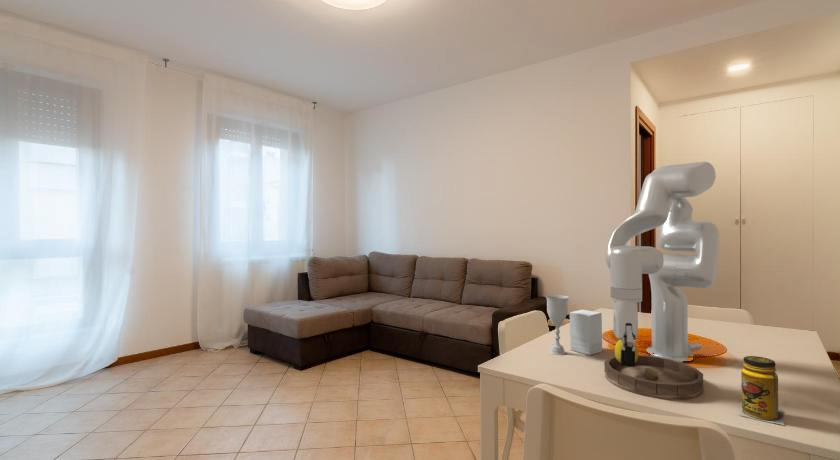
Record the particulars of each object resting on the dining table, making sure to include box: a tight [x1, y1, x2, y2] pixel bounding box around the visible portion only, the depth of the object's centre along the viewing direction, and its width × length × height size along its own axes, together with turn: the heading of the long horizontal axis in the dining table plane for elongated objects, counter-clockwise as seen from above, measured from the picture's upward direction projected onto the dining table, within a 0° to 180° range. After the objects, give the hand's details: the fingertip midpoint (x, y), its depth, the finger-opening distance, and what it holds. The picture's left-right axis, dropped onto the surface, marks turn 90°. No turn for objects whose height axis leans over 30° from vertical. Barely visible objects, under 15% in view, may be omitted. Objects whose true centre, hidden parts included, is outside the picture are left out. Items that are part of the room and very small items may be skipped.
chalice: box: [544, 294, 570, 356], centre depth 129 cm, size 7×7×18 cm
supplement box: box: [569, 309, 603, 356], centre depth 131 cm, size 7×7×13 cm
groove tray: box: [603, 354, 704, 401], centre depth 105 cm, size 22×22×4 cm
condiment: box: [738, 355, 785, 426], centre depth 86 cm, size 7×8×12 cm
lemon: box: [614, 337, 639, 367], centre depth 107 cm, size 6×6×8 cm
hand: (626, 361), depth 107 cm, fingers closed on lemon, 5 cm apart
